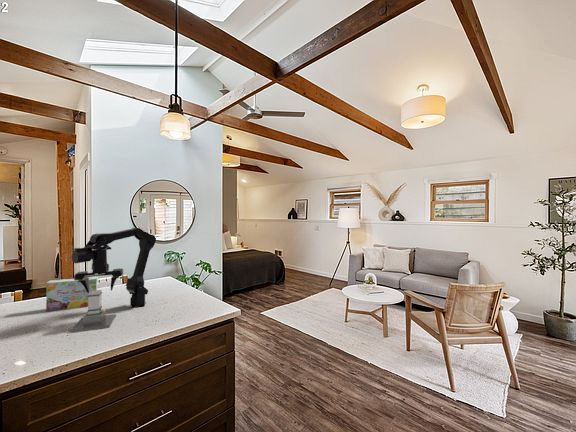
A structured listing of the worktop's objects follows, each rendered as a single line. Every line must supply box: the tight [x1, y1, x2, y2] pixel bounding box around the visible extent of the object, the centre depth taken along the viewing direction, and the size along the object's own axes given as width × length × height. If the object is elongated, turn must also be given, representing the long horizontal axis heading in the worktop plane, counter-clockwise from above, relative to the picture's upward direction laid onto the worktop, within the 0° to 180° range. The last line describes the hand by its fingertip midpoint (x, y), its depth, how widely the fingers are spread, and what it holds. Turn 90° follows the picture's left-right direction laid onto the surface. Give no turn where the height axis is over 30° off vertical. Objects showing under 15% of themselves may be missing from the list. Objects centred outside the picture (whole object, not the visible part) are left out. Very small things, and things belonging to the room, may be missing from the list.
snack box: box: [45, 276, 99, 312], centre depth 141 cm, size 21×6×15 cm, turn 117°
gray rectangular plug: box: [87, 289, 103, 315], centre depth 120 cm, size 4×4×10 cm
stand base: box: [69, 308, 117, 333], centre depth 120 cm, size 14×14×6 cm
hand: (100, 291), depth 127 cm, fingers open, 9 cm apart
